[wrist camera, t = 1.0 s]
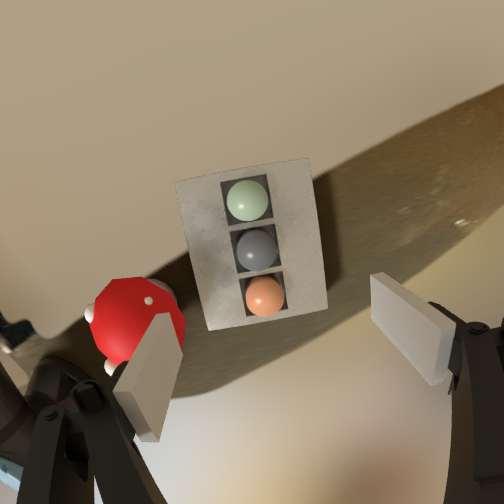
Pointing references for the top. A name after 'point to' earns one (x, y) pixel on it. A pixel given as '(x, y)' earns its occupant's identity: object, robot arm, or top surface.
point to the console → (230, 229)
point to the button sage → (247, 200)
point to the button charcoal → (256, 250)
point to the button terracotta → (264, 296)
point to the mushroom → (130, 316)
